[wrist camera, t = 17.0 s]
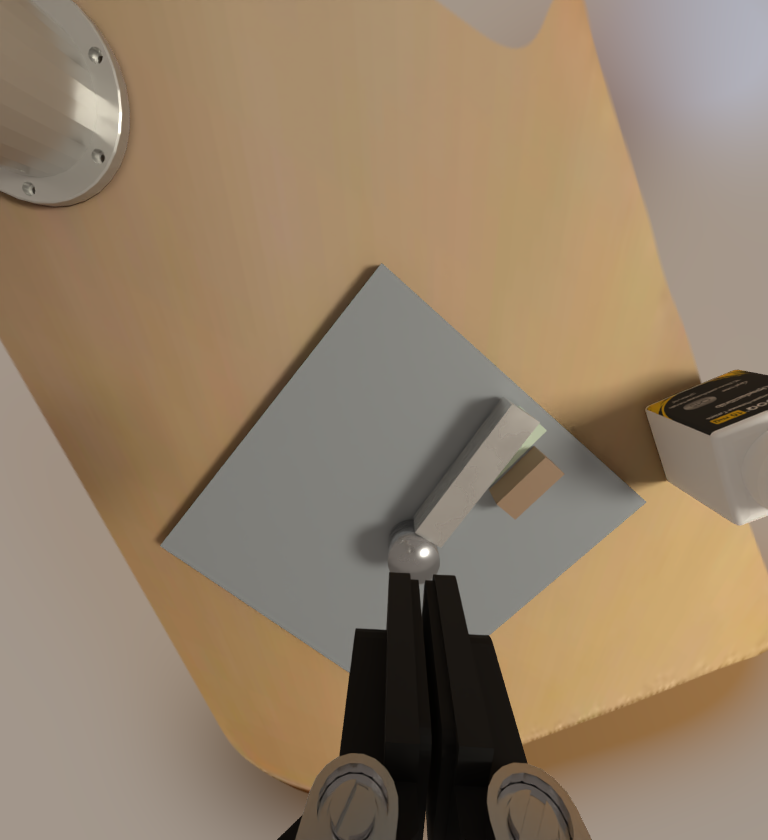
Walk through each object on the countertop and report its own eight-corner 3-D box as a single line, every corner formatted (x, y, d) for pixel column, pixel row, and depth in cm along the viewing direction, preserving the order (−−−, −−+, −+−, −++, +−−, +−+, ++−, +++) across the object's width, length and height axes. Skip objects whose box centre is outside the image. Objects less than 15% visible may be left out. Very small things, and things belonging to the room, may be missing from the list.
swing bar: (418, 568, 34) (421, 593, 31) (379, 546, 33) (377, 569, 30) (536, 418, 29) (551, 430, 27) (493, 390, 29) (504, 399, 26)
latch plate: (167, 537, 35) (142, 563, 32) (382, 264, 28) (380, 258, 25) (402, 696, 40) (403, 734, 36) (637, 495, 33) (666, 517, 29)
